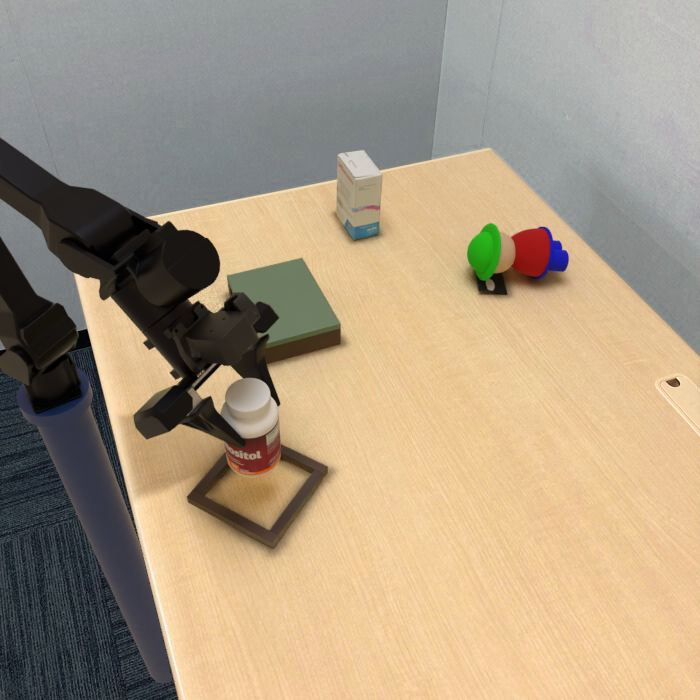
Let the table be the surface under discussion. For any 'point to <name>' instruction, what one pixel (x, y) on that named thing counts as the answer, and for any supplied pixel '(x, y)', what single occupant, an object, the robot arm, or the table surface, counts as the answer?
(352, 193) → the ink box
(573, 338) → the table surface
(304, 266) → the upper shelf
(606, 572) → the table surface
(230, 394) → the pill bottle
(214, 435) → the robot arm
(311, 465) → the dark brown square frame
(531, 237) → the toy figure
